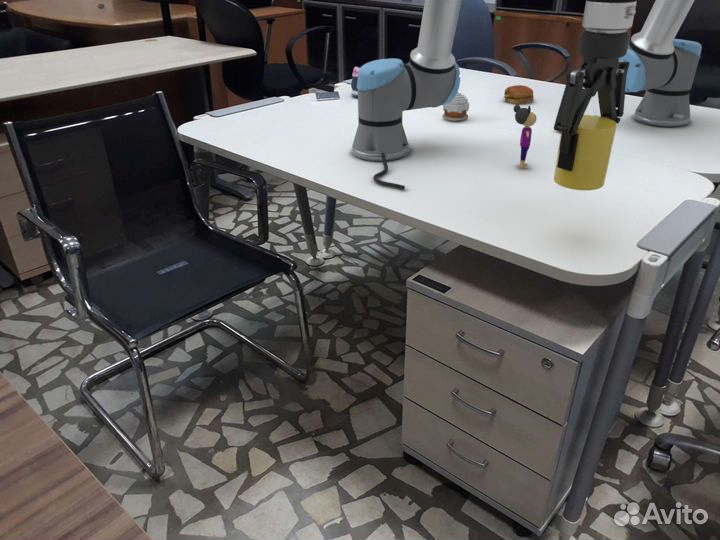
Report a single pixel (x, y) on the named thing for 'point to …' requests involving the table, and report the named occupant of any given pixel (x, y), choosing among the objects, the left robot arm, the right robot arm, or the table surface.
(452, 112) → the cream topped cupcake
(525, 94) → the burger
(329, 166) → the table surface
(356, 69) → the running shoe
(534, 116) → the toy
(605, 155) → the canister
